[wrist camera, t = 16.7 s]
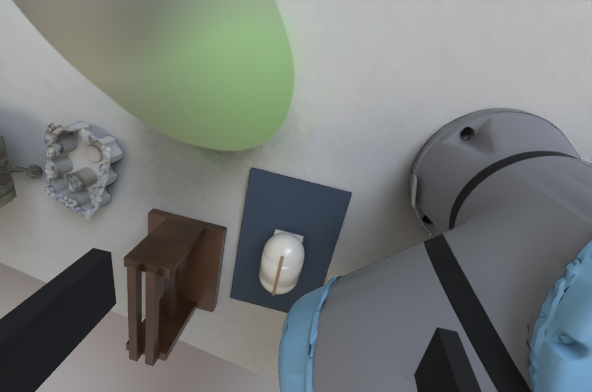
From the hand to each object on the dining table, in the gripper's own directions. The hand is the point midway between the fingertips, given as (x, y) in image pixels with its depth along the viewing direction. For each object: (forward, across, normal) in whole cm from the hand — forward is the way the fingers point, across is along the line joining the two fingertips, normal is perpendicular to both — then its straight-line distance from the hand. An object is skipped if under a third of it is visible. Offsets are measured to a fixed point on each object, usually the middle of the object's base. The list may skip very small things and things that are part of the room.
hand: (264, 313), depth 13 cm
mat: (+25, -1, -14) cm, 29 cm away
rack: (+25, -15, -19) cm, 35 cm away
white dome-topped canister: (+24, -1, -14) cm, 28 cm away
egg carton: (+25, -27, -8) cm, 38 cm away
